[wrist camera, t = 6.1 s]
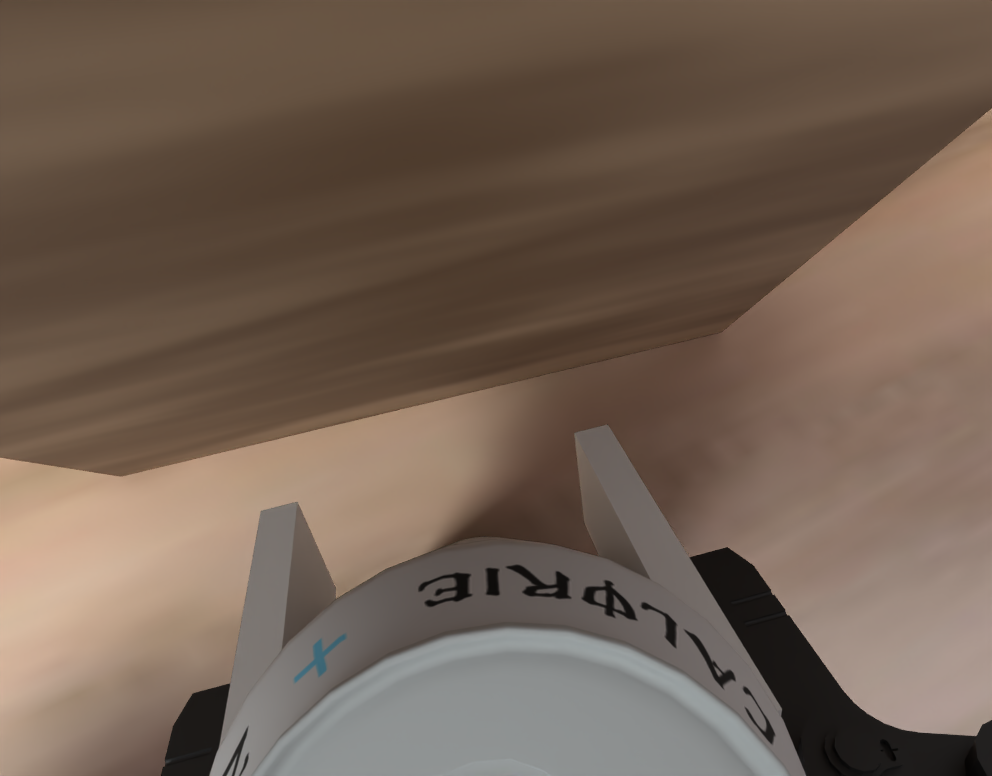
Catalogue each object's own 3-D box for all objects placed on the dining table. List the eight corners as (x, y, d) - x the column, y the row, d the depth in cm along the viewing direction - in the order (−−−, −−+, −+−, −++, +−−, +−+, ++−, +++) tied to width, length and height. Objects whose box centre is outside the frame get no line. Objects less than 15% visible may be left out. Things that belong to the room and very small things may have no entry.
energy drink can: (482, 495, 20) (496, 388, 5) (628, 632, 19) (1130, 959, 4) (344, 646, 19) (-130, 1050, 4) (493, 798, 18) (568, 1977, 3)
